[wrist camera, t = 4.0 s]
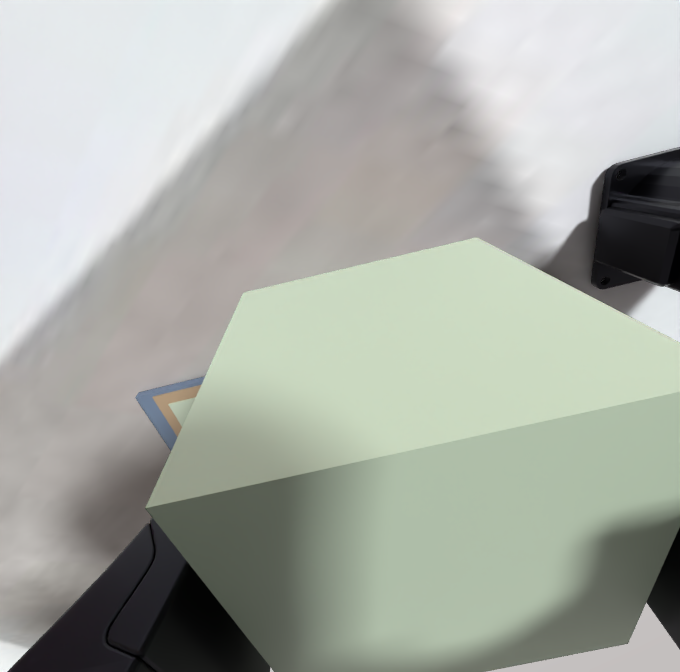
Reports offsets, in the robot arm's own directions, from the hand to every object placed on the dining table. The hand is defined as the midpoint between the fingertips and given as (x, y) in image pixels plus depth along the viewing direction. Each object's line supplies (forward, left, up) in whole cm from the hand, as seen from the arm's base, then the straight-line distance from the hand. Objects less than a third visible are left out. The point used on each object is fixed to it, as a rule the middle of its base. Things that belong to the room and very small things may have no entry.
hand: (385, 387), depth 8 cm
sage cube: (0, 0, -1) cm, 1 cm away
